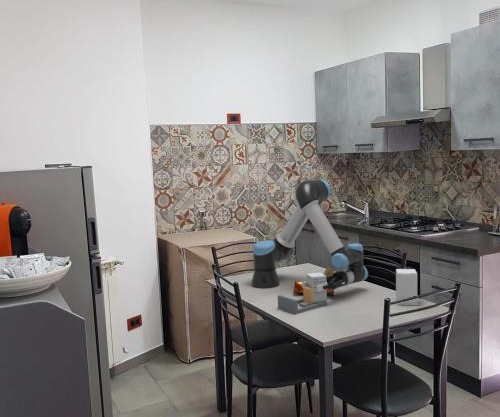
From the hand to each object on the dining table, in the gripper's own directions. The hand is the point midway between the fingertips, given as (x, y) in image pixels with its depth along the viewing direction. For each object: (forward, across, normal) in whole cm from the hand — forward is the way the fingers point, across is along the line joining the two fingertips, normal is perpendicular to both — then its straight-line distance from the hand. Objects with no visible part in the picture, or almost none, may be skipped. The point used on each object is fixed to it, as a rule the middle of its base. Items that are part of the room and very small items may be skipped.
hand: (309, 286), depth 242 cm
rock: (-30, +17, -9) cm, 36 cm away
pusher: (+3, 0, -9) cm, 9 cm away
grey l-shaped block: (+4, 0, -8) cm, 9 cm away
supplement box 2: (-34, -29, -9) cm, 45 cm away
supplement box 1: (-4, 0, -8) cm, 9 cm away
